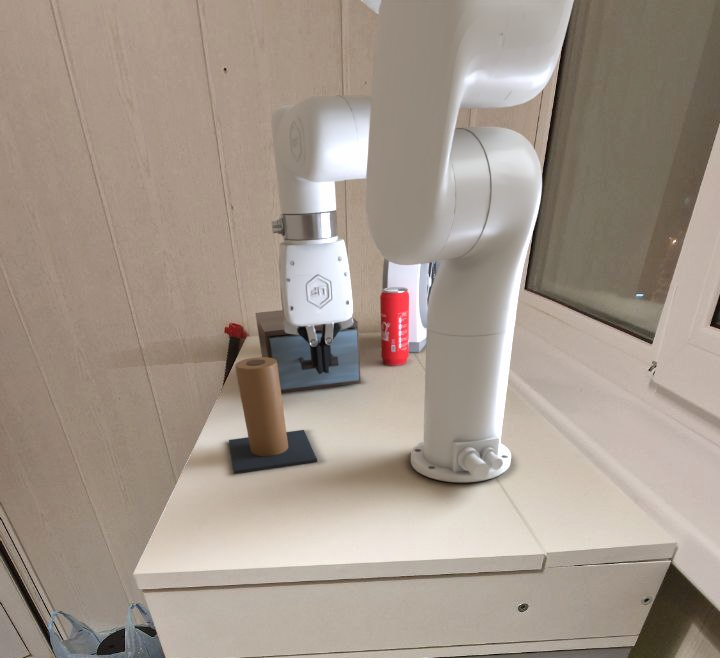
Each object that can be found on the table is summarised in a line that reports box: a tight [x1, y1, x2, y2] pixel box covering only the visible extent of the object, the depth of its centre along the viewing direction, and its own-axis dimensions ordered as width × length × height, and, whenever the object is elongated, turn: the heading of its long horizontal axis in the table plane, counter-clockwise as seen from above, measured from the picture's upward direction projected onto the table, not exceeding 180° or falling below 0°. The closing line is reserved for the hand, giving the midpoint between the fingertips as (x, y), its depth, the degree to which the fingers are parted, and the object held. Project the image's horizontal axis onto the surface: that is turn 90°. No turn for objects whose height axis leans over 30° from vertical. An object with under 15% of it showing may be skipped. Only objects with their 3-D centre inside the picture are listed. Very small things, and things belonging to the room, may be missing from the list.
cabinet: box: [255, 309, 361, 394], centre depth 99 cm, size 16×16×10 cm
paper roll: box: [234, 356, 288, 456], centre depth 73 cm, size 5×5×11 cm
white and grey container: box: [381, 257, 441, 353], centre depth 109 cm, size 18×8×20 cm, turn 162°
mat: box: [228, 429, 318, 474], centre depth 76 cm, size 11×11×1 cm
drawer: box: [269, 328, 359, 390], centre depth 96 cm, size 19×14×8 cm
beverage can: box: [379, 287, 410, 367], centre depth 103 cm, size 5×5×12 cm
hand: (322, 371), depth 88 cm, fingers closed
